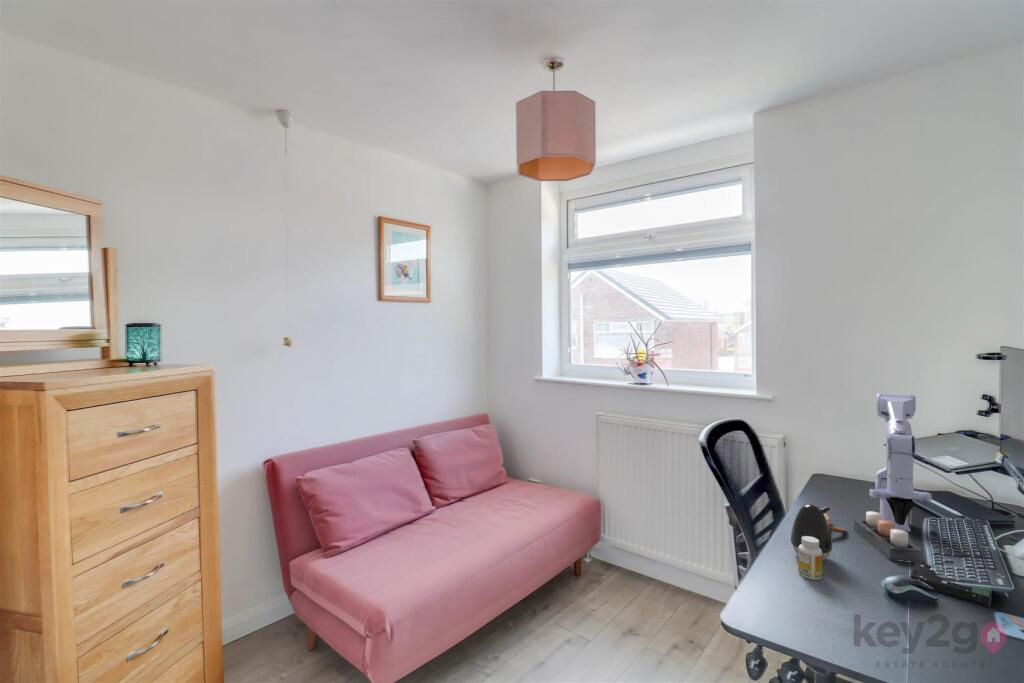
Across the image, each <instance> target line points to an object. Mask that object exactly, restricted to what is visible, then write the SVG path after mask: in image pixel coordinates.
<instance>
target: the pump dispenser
mask: <svg viewBox="0 0 1024 683" xmlns="http://www.w3.org/2000/svg"><path fill="white" fill-rule="evenodd" d="M829 511H830V507H829V506H825V507H823V508H820V507H819V506H817V505H815V504H813V503H808V504H804V505H803V506H801V508H800V509H799V510H798V511H797V513H796V516H795V518H794V521H793V523H792V528H791V533H790V543H791V545H792V547H793V548H792V549H793V550H794V552H795V553H796V554H797V555H798V548H799V545H801V544H802V542H801V540H802V537H803V536H810V537H814V538H816V539H818V540H819V548H820V549H821V550H822V562H823V561H825V560H827V559H828V557H830V556H831V555H830V554H831V552H832V551H833V548H834V547H833V539H832V533H831V531H830V529H829V526H828V523H827V520H826V518H825V516H824V514H826V513H827V512H829Z"/></svg>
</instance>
